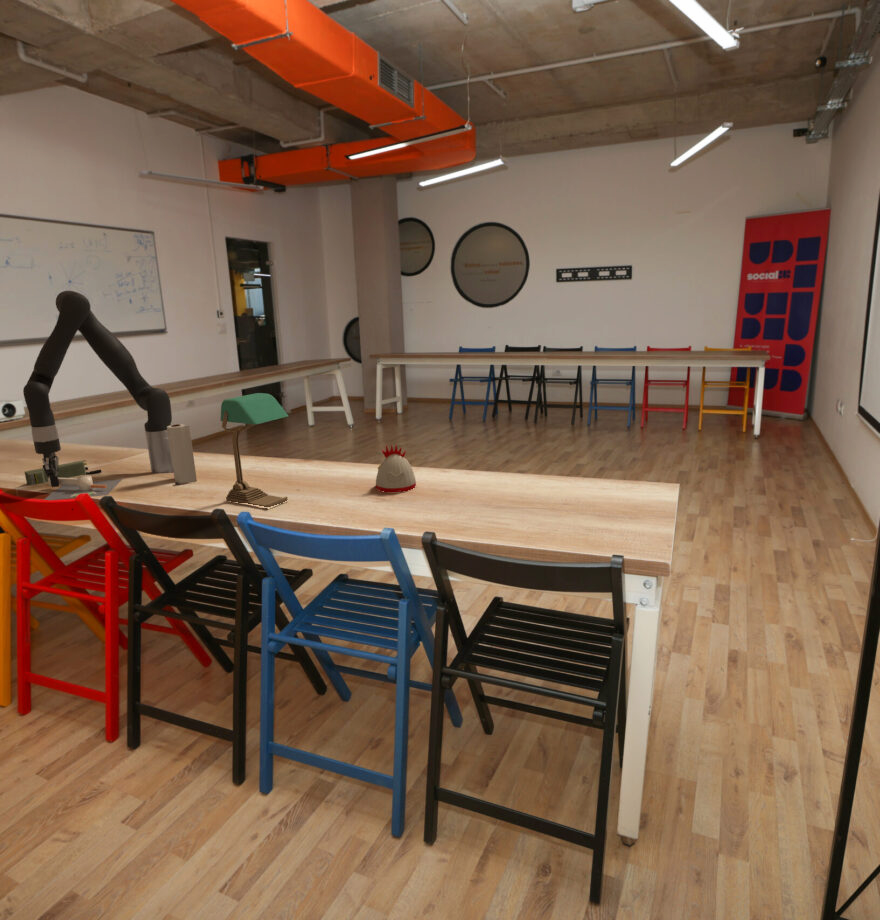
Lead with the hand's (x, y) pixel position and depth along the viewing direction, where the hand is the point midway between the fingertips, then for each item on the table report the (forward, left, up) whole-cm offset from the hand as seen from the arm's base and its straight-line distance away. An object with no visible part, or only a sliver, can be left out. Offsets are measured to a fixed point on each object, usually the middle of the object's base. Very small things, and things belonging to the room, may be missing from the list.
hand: (55, 486), depth 217 cm
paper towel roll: (-42, -1, -3) cm, 42 cm away
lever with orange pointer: (-8, 0, -1) cm, 8 cm away
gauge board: (-9, +1, -3) cm, 10 cm away
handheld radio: (+3, -19, -4) cm, 20 cm away
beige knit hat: (-116, +30, -3) cm, 120 cm away
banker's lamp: (-70, +32, -3) cm, 77 cm away
